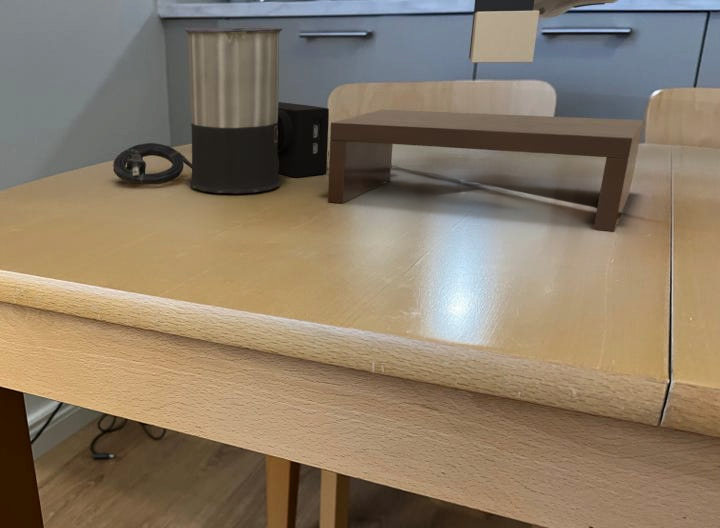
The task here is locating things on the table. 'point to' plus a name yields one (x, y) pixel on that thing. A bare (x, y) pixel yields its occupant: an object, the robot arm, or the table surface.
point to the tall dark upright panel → (503, 31)
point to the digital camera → (302, 139)
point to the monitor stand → (482, 147)
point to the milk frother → (224, 115)
